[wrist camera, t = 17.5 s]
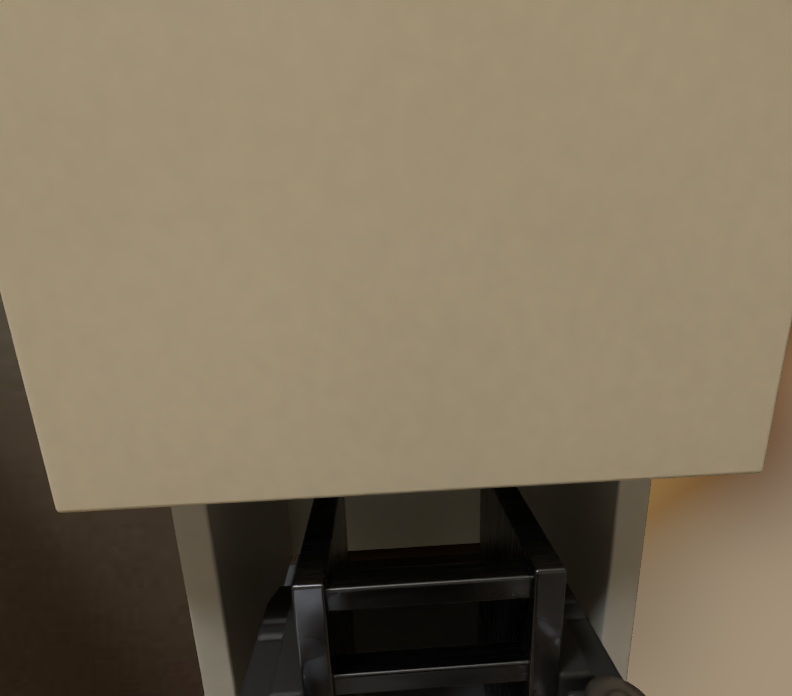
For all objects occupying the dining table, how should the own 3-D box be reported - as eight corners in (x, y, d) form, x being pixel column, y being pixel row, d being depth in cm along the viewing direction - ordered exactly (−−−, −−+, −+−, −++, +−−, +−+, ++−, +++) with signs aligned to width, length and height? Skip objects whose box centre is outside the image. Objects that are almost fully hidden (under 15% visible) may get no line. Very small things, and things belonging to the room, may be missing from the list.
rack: (501, 460, 11) (568, 569, 7) (495, 661, 13) (547, 838, 9) (320, 469, 11) (290, 587, 7) (337, 672, 13) (320, 859, 9)
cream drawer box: (554, 355, 18) (765, 474, 8) (234, 369, 17) (54, 515, 8) (588, -235, 13) (1158, -1546, 4) (154, -242, 13) (-543, -1806, 3)
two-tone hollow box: (537, 591, 19) (643, 815, 12) (270, 609, 19) (197, 856, 11) (562, 139, 15) (765, 14, 7) (212, 147, 14) (20, 22, 7)
